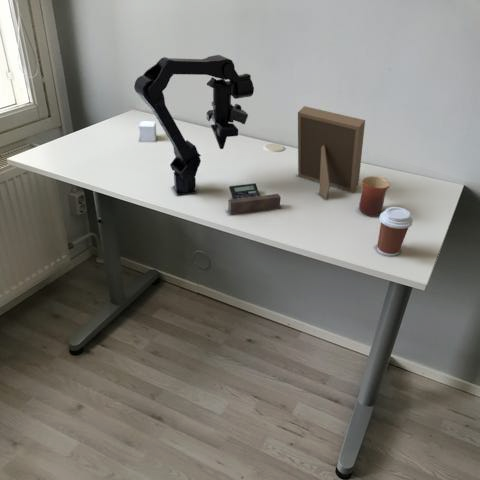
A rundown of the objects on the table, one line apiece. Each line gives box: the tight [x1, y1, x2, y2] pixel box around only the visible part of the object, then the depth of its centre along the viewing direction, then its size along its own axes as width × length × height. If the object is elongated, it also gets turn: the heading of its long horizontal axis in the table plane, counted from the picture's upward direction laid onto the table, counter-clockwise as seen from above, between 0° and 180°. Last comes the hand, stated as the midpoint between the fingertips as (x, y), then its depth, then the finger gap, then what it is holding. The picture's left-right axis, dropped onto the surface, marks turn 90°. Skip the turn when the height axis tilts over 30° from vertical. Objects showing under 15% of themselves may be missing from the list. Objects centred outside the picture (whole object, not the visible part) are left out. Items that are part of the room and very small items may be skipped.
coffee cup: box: [376, 206, 414, 257], centre depth 139 cm, size 9×9×12 cm
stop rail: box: [227, 193, 282, 216], centre depth 157 cm, size 17×2×4 cm, turn 109°
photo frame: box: [297, 105, 366, 199], centre depth 165 cm, size 15×22×25 cm
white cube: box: [138, 120, 158, 142], centre depth 202 cm, size 6×6×6 cm
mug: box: [358, 175, 391, 217], centre depth 158 cm, size 12×9×10 cm
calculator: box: [229, 182, 262, 199], centre depth 163 cm, size 9×12×3 cm
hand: (221, 148), depth 166 cm, fingers closed
